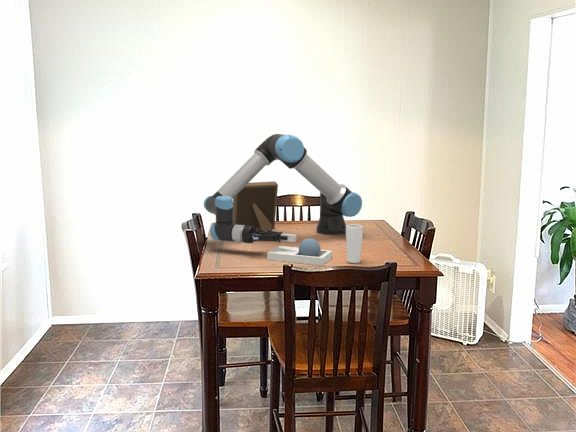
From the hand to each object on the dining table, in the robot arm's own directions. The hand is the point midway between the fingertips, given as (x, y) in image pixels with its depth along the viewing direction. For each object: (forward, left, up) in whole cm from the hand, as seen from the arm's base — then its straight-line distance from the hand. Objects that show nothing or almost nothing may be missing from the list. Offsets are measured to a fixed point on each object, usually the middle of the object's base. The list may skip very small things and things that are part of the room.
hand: (295, 238), depth 242 cm
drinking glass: (-22, +11, -9) cm, 26 cm away
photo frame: (+7, -56, -9) cm, 57 cm away
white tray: (-2, +1, -9) cm, 9 cm away
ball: (-5, +4, -4) cm, 7 cm away
